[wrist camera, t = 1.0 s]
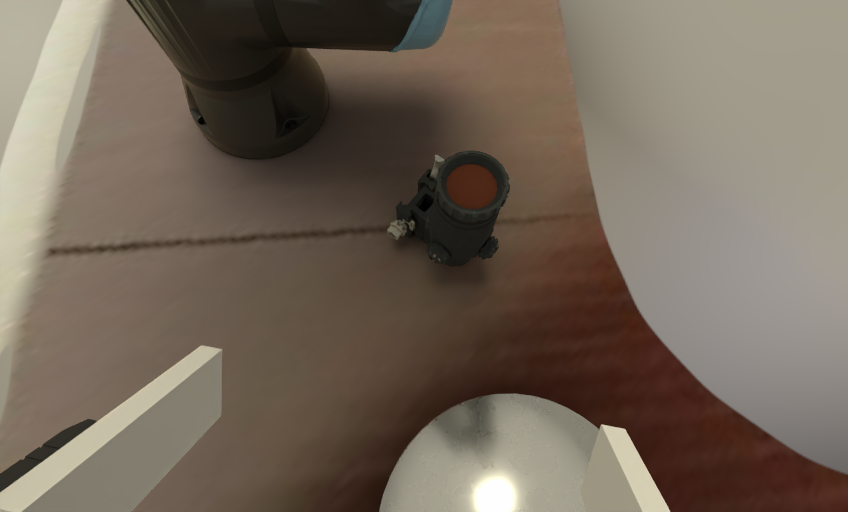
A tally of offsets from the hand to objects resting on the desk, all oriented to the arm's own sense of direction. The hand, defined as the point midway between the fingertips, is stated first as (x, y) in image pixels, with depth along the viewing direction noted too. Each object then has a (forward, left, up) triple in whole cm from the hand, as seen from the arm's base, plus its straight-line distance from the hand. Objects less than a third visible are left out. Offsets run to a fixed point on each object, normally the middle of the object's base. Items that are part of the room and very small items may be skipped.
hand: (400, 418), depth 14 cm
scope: (-16, +3, -25) cm, 30 cm away
